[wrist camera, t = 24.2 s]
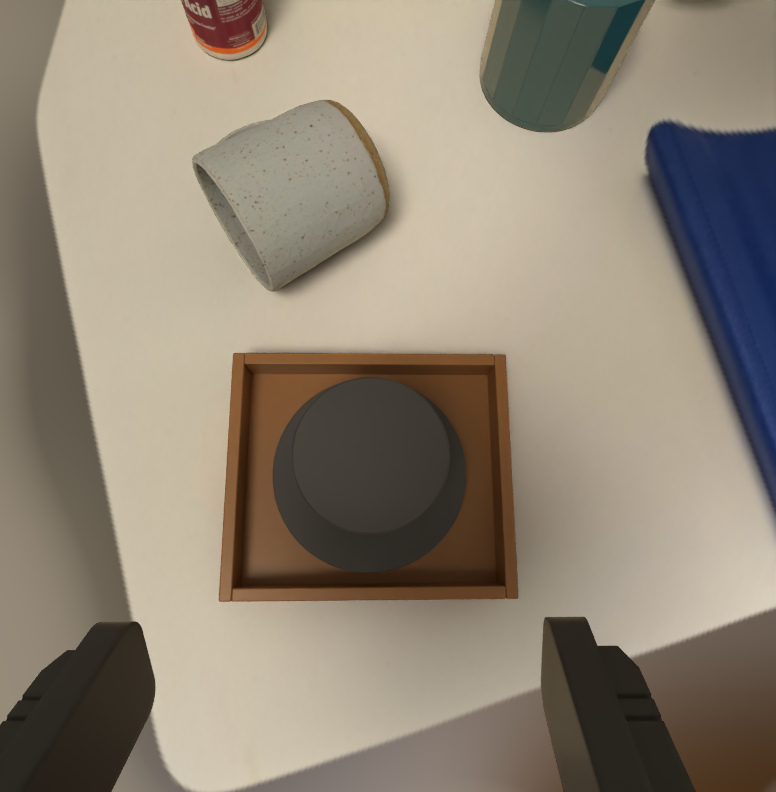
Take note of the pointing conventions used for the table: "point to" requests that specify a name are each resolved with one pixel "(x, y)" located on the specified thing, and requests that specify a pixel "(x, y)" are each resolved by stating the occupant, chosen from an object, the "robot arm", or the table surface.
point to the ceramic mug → (294, 189)
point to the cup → (555, 57)
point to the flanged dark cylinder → (369, 475)
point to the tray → (318, 581)
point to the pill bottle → (227, 26)
